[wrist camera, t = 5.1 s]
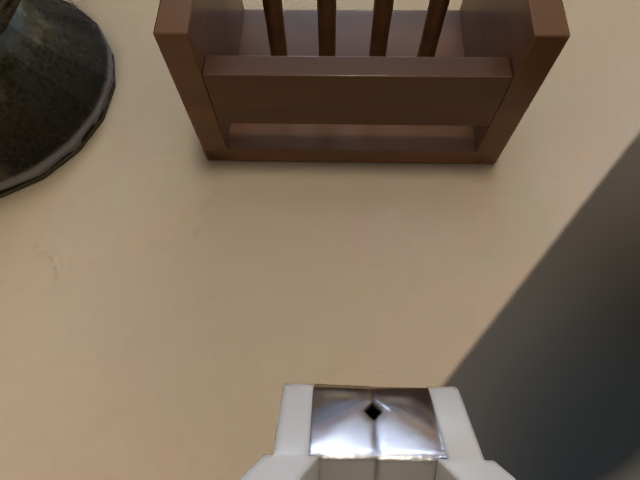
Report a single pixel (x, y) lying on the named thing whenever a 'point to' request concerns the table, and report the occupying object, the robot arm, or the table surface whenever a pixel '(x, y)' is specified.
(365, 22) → the rack
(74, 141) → the lantern
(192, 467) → the table surface
